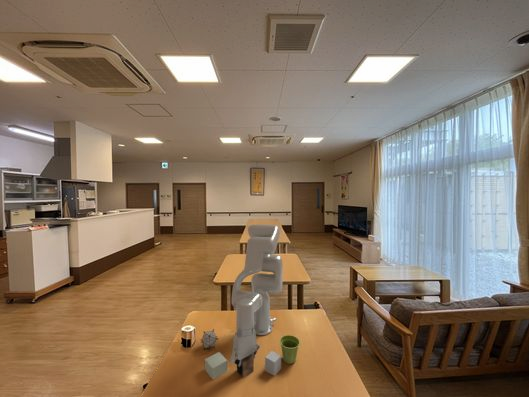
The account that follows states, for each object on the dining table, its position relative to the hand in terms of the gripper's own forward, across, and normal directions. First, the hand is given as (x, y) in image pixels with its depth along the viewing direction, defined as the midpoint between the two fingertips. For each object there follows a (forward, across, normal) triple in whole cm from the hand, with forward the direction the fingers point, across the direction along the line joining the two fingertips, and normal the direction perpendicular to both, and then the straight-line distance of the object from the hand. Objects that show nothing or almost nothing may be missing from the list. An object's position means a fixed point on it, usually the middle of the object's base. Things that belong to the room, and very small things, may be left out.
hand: (245, 369), depth 101 cm
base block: (+1, +10, -8) cm, 13 cm away
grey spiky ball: (+1, +6, -24) cm, 25 cm away
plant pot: (+1, -20, +7) cm, 21 cm away
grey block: (+1, -10, +7) cm, 12 cm away
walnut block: (+1, 0, 0) cm, 1 cm away
